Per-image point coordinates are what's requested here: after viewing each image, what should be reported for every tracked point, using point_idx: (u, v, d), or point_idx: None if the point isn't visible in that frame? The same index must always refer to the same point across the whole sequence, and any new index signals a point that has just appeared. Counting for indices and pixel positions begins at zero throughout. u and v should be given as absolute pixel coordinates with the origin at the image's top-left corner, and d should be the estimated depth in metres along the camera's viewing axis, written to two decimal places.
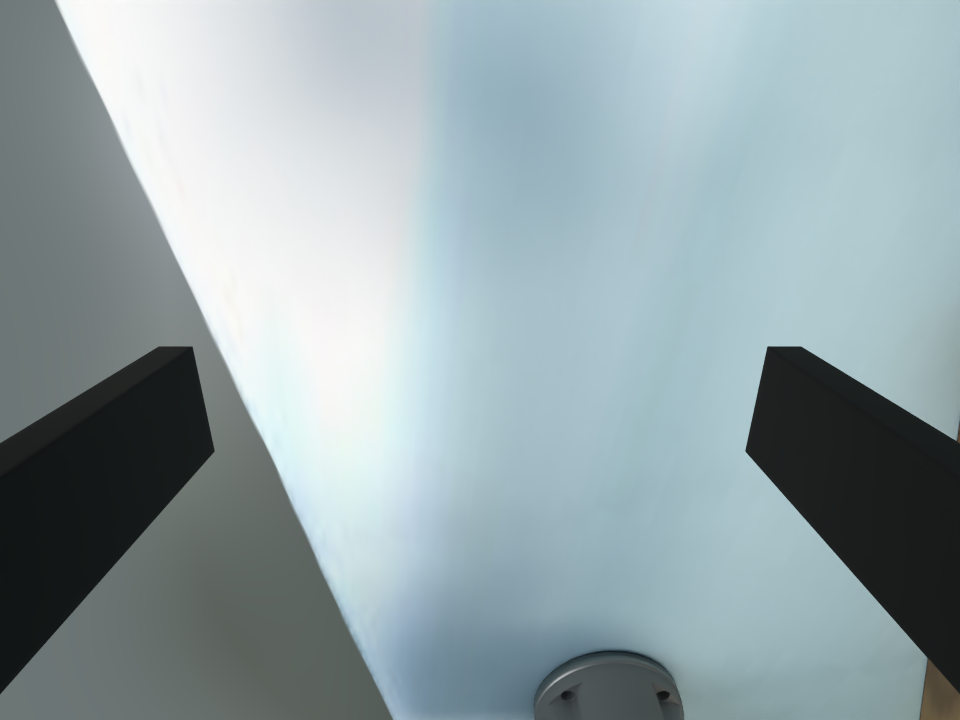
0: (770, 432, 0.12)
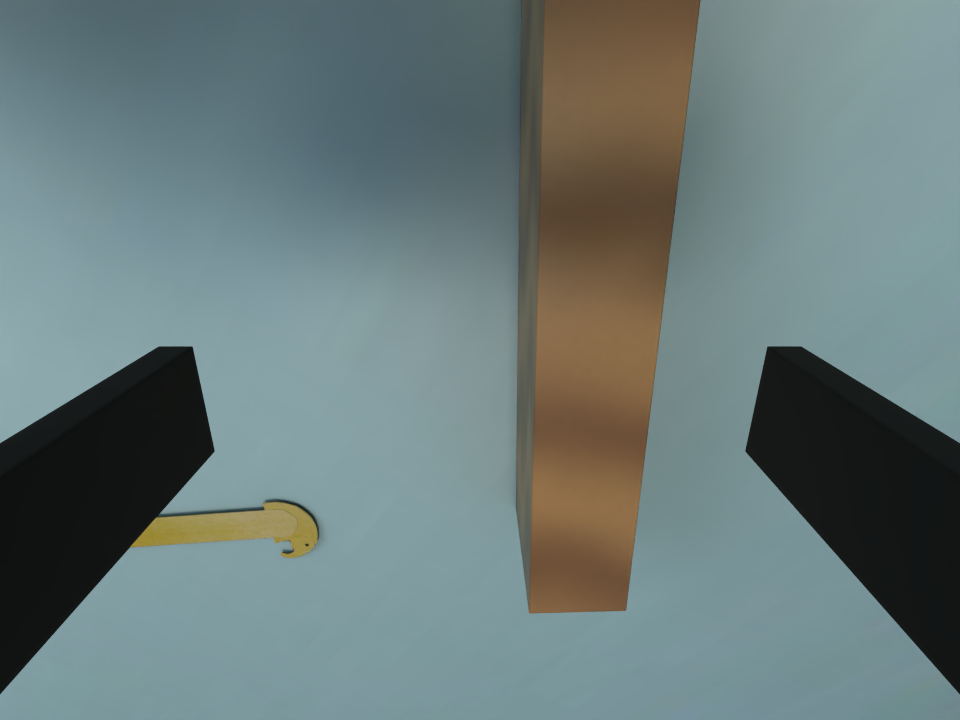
0: (770, 432, 0.12)
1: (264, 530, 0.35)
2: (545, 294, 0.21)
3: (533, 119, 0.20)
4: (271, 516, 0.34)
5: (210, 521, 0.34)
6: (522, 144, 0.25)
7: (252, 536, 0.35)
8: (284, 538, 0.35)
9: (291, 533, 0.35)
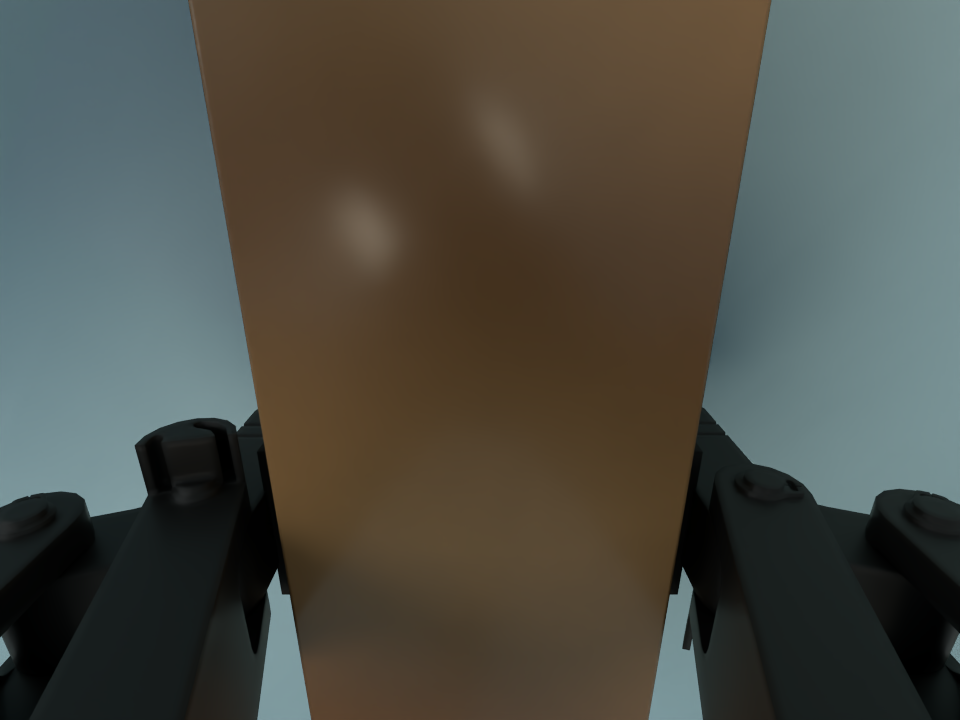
0: None
1: None
2: None
3: None
4: None
5: None
6: None
7: None
8: None
9: None
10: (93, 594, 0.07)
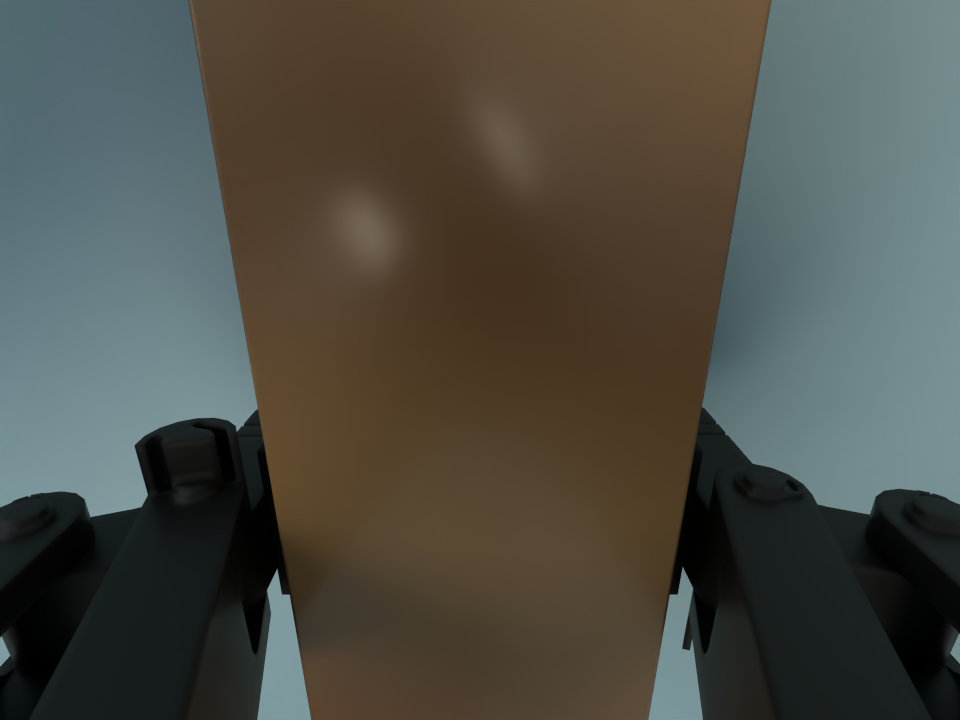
0: None
1: None
2: None
3: None
4: None
5: None
6: None
7: None
8: None
9: None
10: (93, 594, 0.07)
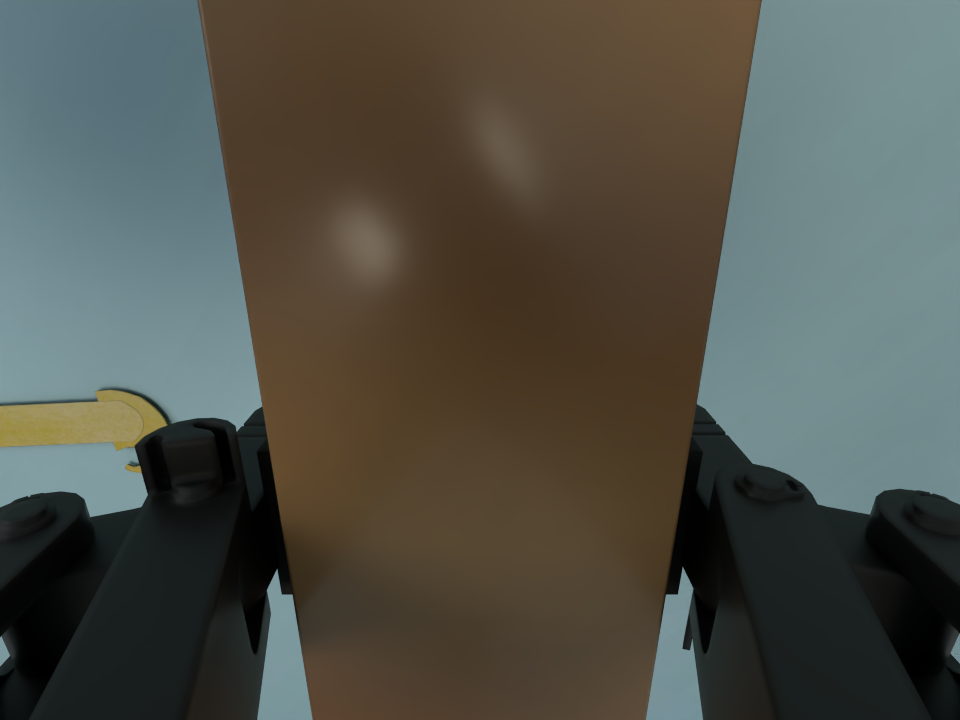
0: None
1: (99, 431, 0.26)
2: None
3: None
4: (108, 410, 0.26)
5: (28, 416, 0.26)
6: None
7: (85, 440, 0.27)
8: (127, 443, 0.27)
9: (137, 437, 0.26)
10: (93, 594, 0.07)
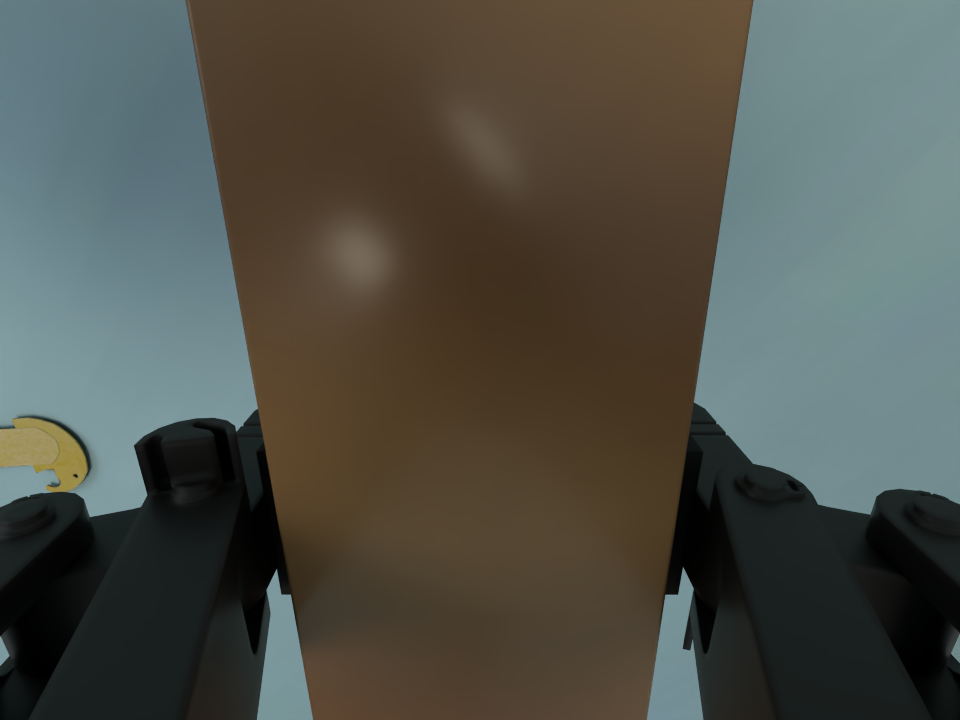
0: None
1: (18, 455, 0.28)
2: None
3: None
4: (25, 436, 0.28)
5: None
6: None
7: (7, 463, 0.29)
8: (45, 466, 0.29)
9: (54, 459, 0.29)
10: (93, 595, 0.07)
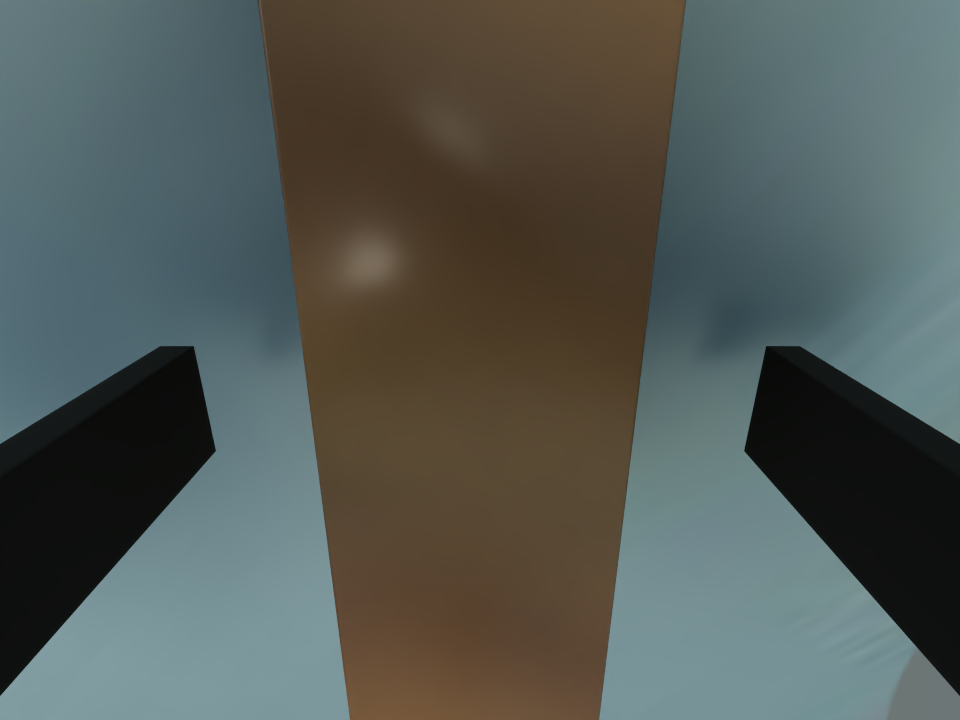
0: (769, 431, 0.12)
1: None
2: None
3: None
4: None
5: None
6: None
7: None
8: None
9: None
10: None
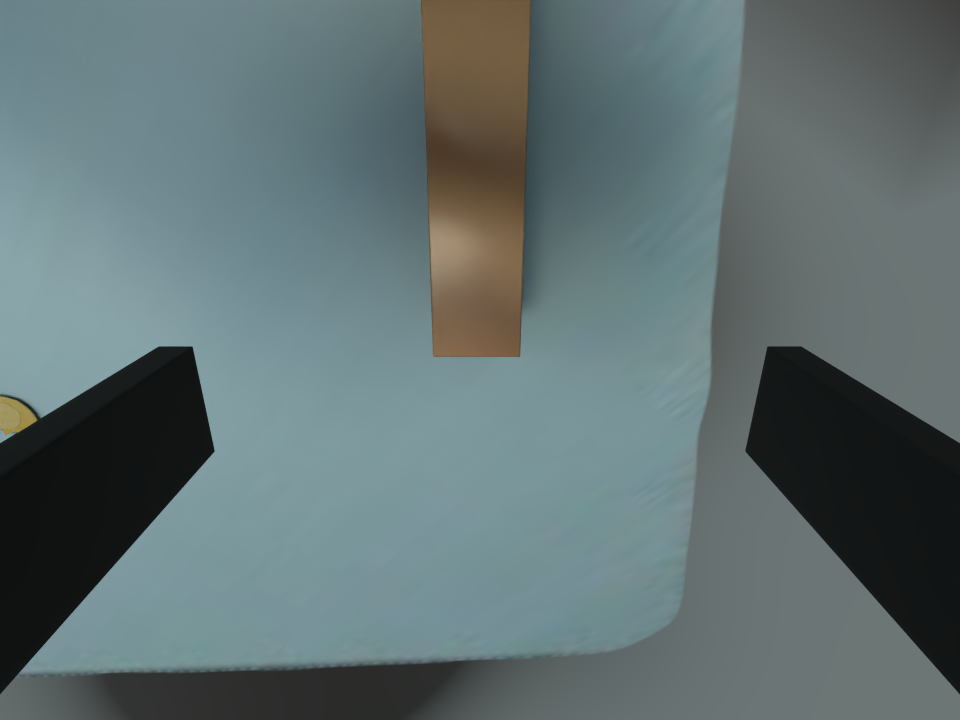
0: (770, 432, 0.12)
1: None
2: (428, 13, 0.24)
3: None
4: None
5: None
6: None
7: None
8: (11, 430, 0.42)
9: (17, 425, 0.41)
10: None
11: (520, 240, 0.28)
